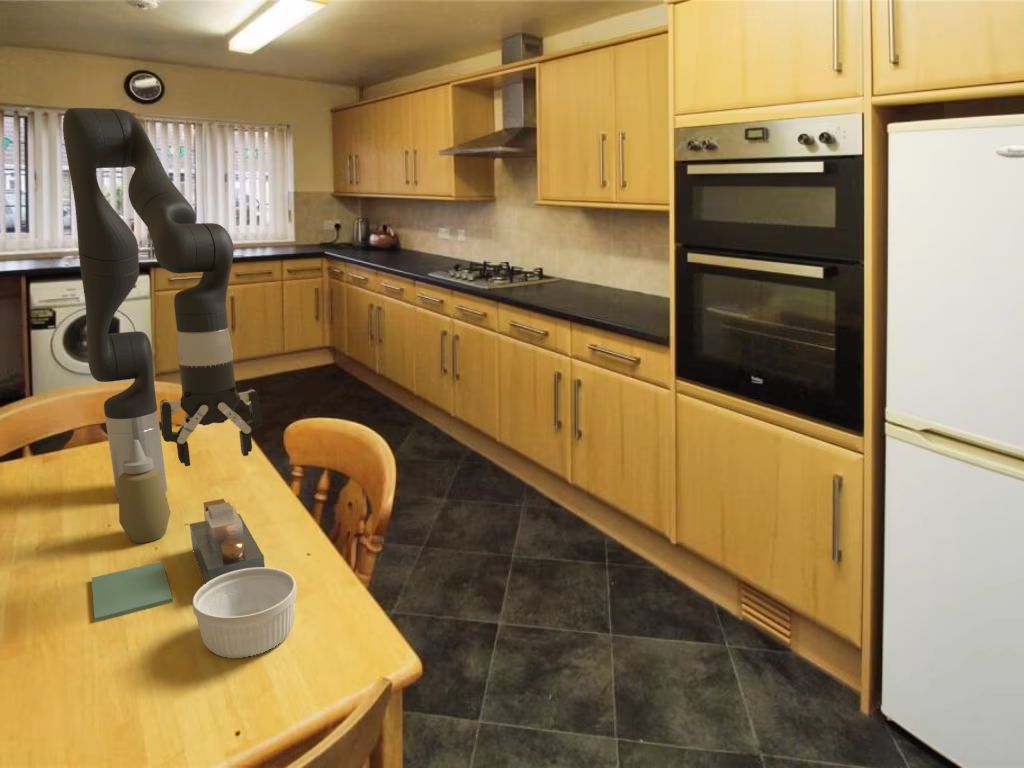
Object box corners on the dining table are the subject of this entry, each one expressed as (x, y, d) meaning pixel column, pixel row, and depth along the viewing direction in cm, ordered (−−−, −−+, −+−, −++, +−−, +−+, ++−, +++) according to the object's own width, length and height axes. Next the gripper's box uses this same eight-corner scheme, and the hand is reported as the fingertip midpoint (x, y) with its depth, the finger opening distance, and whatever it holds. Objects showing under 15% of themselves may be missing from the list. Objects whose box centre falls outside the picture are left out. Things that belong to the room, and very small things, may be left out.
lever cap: (206, 534, 114) (203, 506, 113) (235, 527, 117) (232, 500, 115) (214, 551, 109) (210, 522, 107) (244, 544, 111) (241, 515, 110)
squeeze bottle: (159, 522, 130) (148, 430, 125) (181, 535, 125) (169, 439, 120) (114, 537, 124) (100, 441, 119) (134, 551, 119) (120, 452, 114)
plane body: (192, 550, 119) (187, 504, 117) (241, 539, 123) (237, 494, 121) (211, 600, 104) (205, 547, 102) (266, 585, 109) (261, 535, 106)
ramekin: (266, 598, 105) (262, 556, 103) (319, 631, 97) (316, 586, 95) (179, 639, 95) (173, 593, 93) (230, 679, 87) (225, 630, 85)
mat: (91, 581, 109) (91, 577, 109) (162, 564, 115) (161, 561, 114) (95, 621, 99) (94, 618, 99) (172, 601, 104) (172, 598, 104)
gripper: (249, 349, 112) (257, 445, 116) (150, 359, 105) (163, 460, 109) (260, 358, 106) (268, 458, 110) (156, 368, 98) (169, 476, 102)
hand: (216, 459), depth 109 cm, fingers open, 8 cm apart
